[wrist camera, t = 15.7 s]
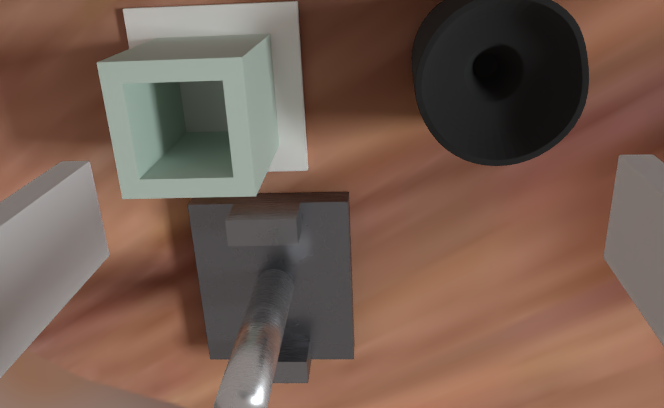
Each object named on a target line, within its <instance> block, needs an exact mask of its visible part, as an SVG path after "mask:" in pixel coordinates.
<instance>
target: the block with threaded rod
mask: <svg viewBox="0 0 664 408" xmlns="http://www.w3.org/2000/svg"><path fill="white" fill-rule="evenodd" d="M188 211H189V217H190V224H191V231H192V238H193V245H194V252H195V258H196V265H197V272H198V279H199V286H200V293H201V299H202V306H203V313H204V320H205V327H206V334H207V340H208V347H209V354H210V359H229V361H228V364H227V367H226V370H225V373H224V376H223V379H222V382H221V385H220V388H219V391H218V394H217V397H216V399H215V402H214V408H267V406H268V401H269V397H270V392H271V388H272V383H308V380H309V373H310V366H311V359H354V321H353V293H352V265H351V237H350V209H349V192H316V193H266V194H257V195H256V196H250V197H200V198H192V199H191V201H190V202H189V204H188Z"/></svg>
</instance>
